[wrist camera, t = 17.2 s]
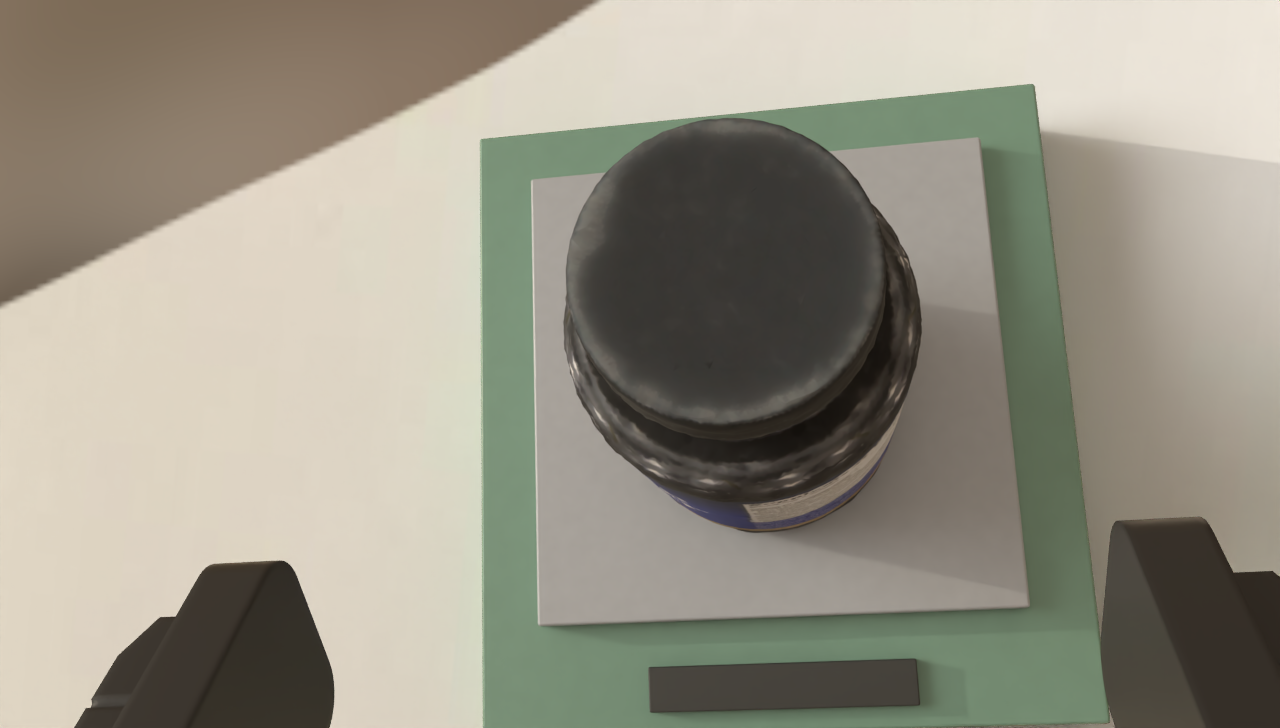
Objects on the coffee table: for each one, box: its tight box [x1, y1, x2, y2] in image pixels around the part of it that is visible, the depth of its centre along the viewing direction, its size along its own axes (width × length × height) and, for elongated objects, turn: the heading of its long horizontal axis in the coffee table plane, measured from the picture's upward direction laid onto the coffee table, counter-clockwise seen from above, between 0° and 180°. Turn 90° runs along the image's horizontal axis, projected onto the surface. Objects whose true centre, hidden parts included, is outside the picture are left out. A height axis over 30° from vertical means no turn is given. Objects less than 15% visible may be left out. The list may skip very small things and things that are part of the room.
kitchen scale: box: [480, 84, 1110, 728], centre depth 29 cm, size 14×15×3 cm
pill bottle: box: [563, 118, 922, 533], centre depth 22 cm, size 6×6×11 cm
